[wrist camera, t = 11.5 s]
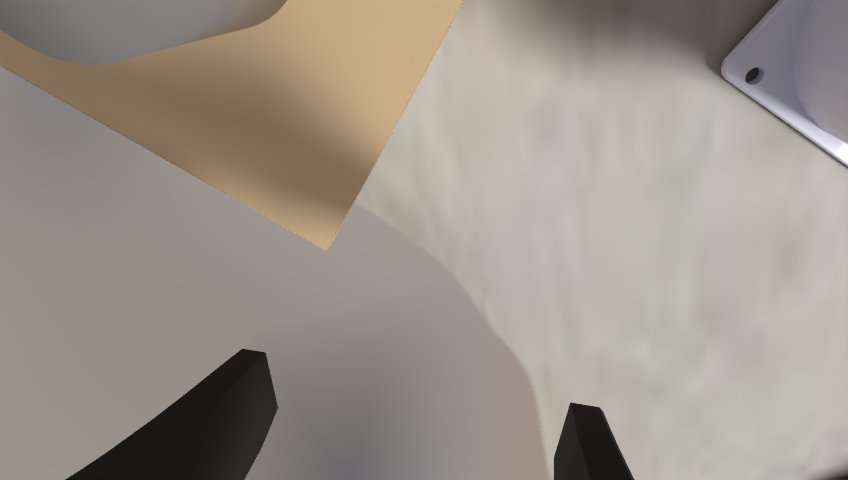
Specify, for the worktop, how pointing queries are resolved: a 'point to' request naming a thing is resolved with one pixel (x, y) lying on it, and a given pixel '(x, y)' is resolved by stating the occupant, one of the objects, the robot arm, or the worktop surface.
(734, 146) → the worktop surface
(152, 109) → the lid
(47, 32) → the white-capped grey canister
